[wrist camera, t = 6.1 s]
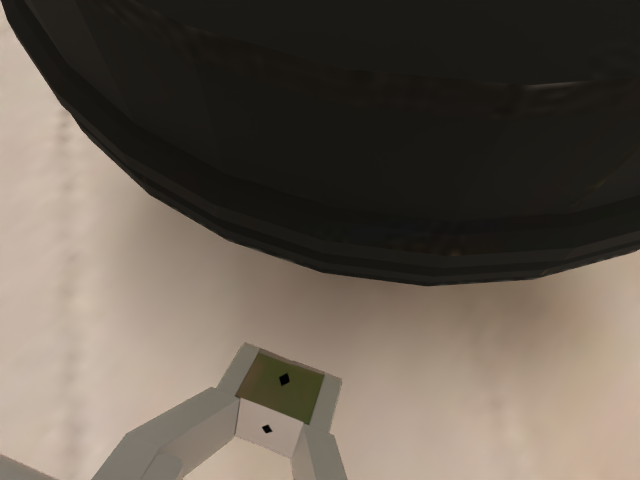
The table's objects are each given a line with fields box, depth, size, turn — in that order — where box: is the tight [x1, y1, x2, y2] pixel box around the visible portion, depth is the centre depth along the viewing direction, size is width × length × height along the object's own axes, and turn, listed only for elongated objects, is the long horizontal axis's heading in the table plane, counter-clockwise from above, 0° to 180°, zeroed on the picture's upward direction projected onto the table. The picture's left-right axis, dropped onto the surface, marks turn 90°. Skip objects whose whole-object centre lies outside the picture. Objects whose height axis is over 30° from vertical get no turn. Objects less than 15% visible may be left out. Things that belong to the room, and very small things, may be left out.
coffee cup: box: [1, 0, 640, 286], centre depth 10 cm, size 10×10×15 cm
